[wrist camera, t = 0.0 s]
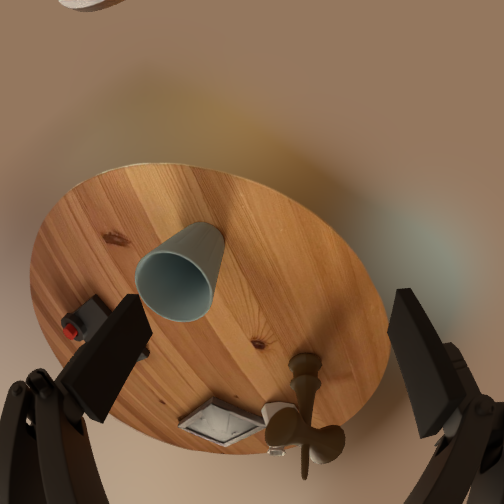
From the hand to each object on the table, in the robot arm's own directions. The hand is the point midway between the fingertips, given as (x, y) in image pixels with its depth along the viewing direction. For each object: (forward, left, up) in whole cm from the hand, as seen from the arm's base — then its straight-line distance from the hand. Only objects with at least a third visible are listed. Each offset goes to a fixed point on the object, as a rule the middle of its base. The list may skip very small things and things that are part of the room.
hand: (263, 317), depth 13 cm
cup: (-1, -10, -19) cm, 22 cm away
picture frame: (+34, -35, -19) cm, 52 cm away
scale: (+3, -38, -19) cm, 43 cm away
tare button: (-2, -42, -16) cm, 45 cm away
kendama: (+23, -9, -19) cm, 31 cm away
